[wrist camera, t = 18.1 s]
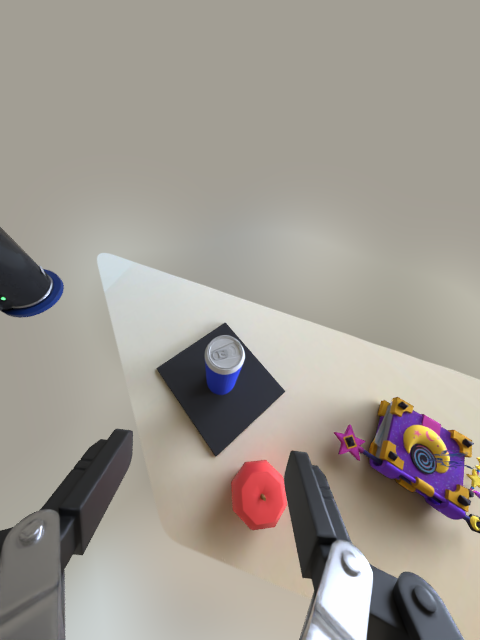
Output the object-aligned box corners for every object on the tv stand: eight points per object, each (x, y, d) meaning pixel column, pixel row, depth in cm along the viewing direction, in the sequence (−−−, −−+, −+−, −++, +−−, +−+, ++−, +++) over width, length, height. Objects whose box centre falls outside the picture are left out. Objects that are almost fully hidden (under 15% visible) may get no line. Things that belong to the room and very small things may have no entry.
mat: (215, 456, 35) (215, 456, 35) (157, 369, 41) (156, 368, 40) (284, 391, 42) (285, 391, 41) (225, 323, 47) (225, 322, 47)
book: (472, 547, 33) (594, 596, 23) (322, 447, 38) (365, 449, 27) (475, 452, 40) (571, 455, 30) (347, 376, 44) (390, 355, 34)
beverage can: (229, 363, 42) (237, 328, 29) (238, 390, 40) (251, 365, 27) (203, 371, 41) (199, 339, 28) (211, 399, 39) (211, 378, 26)
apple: (220, 510, 32) (222, 528, 25) (237, 449, 36) (243, 451, 29) (272, 530, 32) (289, 554, 25) (284, 466, 36) (301, 472, 29)
